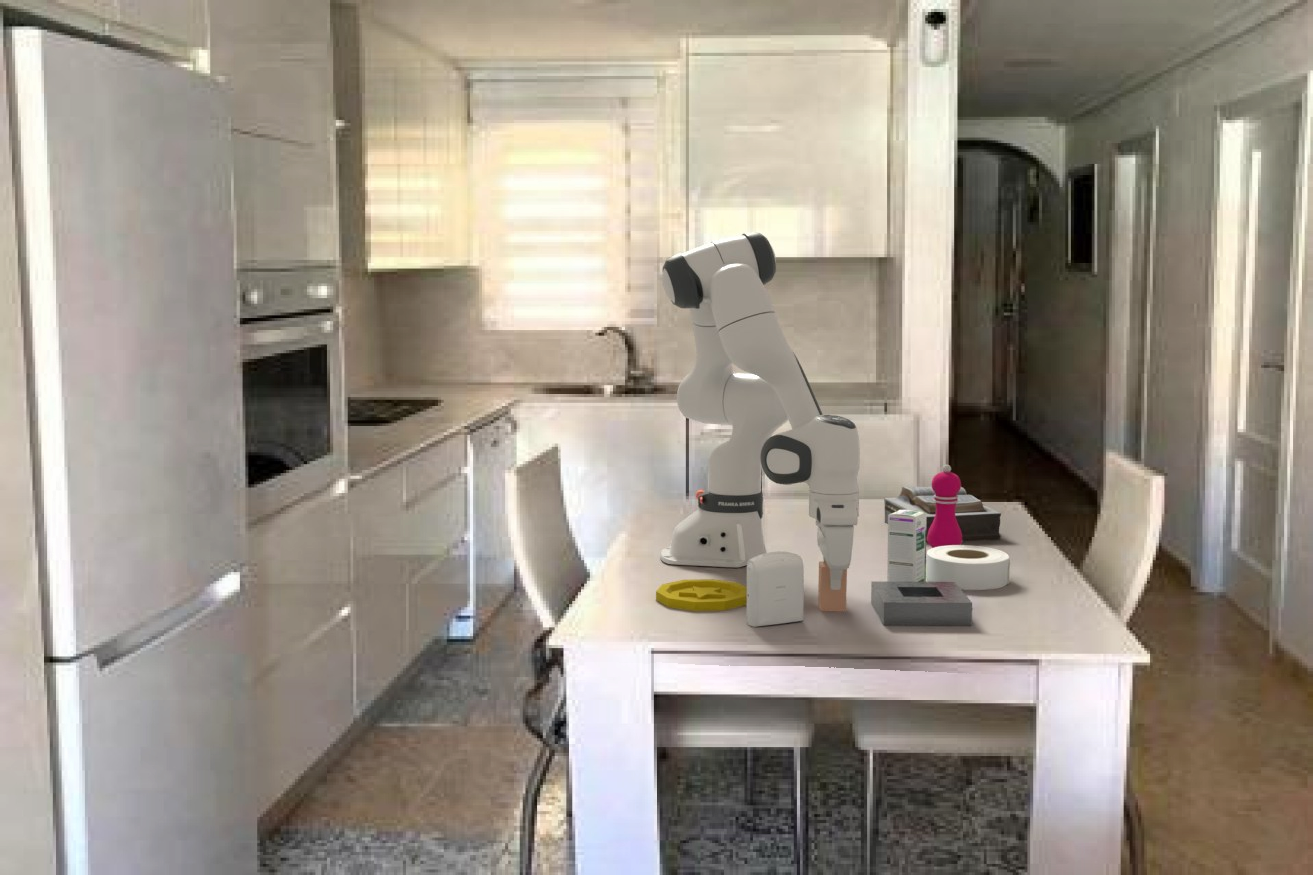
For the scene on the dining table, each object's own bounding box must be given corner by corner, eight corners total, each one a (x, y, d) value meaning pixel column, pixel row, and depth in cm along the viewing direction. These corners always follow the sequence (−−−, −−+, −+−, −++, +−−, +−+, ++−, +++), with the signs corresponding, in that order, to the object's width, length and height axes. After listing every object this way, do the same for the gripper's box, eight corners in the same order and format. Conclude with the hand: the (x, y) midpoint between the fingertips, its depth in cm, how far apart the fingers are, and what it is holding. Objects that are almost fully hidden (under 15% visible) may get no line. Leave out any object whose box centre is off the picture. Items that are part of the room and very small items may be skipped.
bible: (978, 520, 320) (979, 480, 319) (1005, 544, 293) (1006, 500, 292) (881, 520, 321) (882, 480, 319) (899, 544, 294) (900, 500, 293)
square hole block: (883, 625, 227) (884, 602, 226) (870, 602, 242) (871, 581, 241) (971, 625, 226) (972, 602, 226) (953, 603, 241) (954, 581, 241)
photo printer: (753, 628, 225) (754, 557, 223) (742, 622, 229) (743, 552, 227) (807, 622, 229) (808, 552, 227) (795, 616, 232) (796, 547, 231)
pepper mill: (962, 563, 273) (965, 467, 271) (926, 562, 275) (929, 466, 272) (961, 556, 280) (964, 462, 278) (926, 554, 282) (929, 461, 279)
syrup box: (915, 591, 250) (917, 516, 248) (885, 587, 253) (887, 512, 251) (926, 585, 255) (928, 511, 253) (897, 581, 258) (899, 508, 256)
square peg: (820, 611, 236) (821, 567, 235) (818, 604, 241) (818, 561, 239) (846, 611, 236) (846, 567, 235) (842, 604, 240) (843, 561, 239)
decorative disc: (684, 585, 256) (684, 575, 256) (766, 597, 247) (766, 586, 247) (639, 604, 242) (639, 593, 242) (724, 617, 233) (724, 606, 233)
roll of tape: (1011, 592, 250) (1012, 563, 249) (926, 588, 253) (927, 560, 252) (1005, 573, 265) (1006, 546, 265) (925, 570, 268) (926, 543, 268)
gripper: (810, 496, 246) (809, 569, 248) (822, 517, 226) (820, 596, 228) (844, 496, 246) (842, 569, 248) (859, 517, 226) (857, 596, 228)
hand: (832, 582), depth 238 cm, fingers open, 8 cm apart
